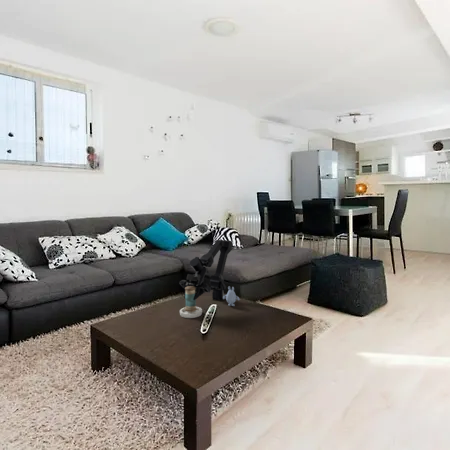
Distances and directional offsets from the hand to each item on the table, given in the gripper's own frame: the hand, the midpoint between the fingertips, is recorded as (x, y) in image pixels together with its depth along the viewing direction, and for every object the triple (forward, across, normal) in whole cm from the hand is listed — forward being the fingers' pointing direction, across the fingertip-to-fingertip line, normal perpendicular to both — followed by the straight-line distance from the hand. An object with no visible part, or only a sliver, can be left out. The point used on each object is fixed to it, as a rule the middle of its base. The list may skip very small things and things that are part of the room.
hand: (189, 299), depth 195 cm
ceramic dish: (+6, 0, +7) cm, 9 cm away
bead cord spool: (+4, 0, +6) cm, 7 cm away
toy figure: (-10, +14, +23) cm, 29 cm away
